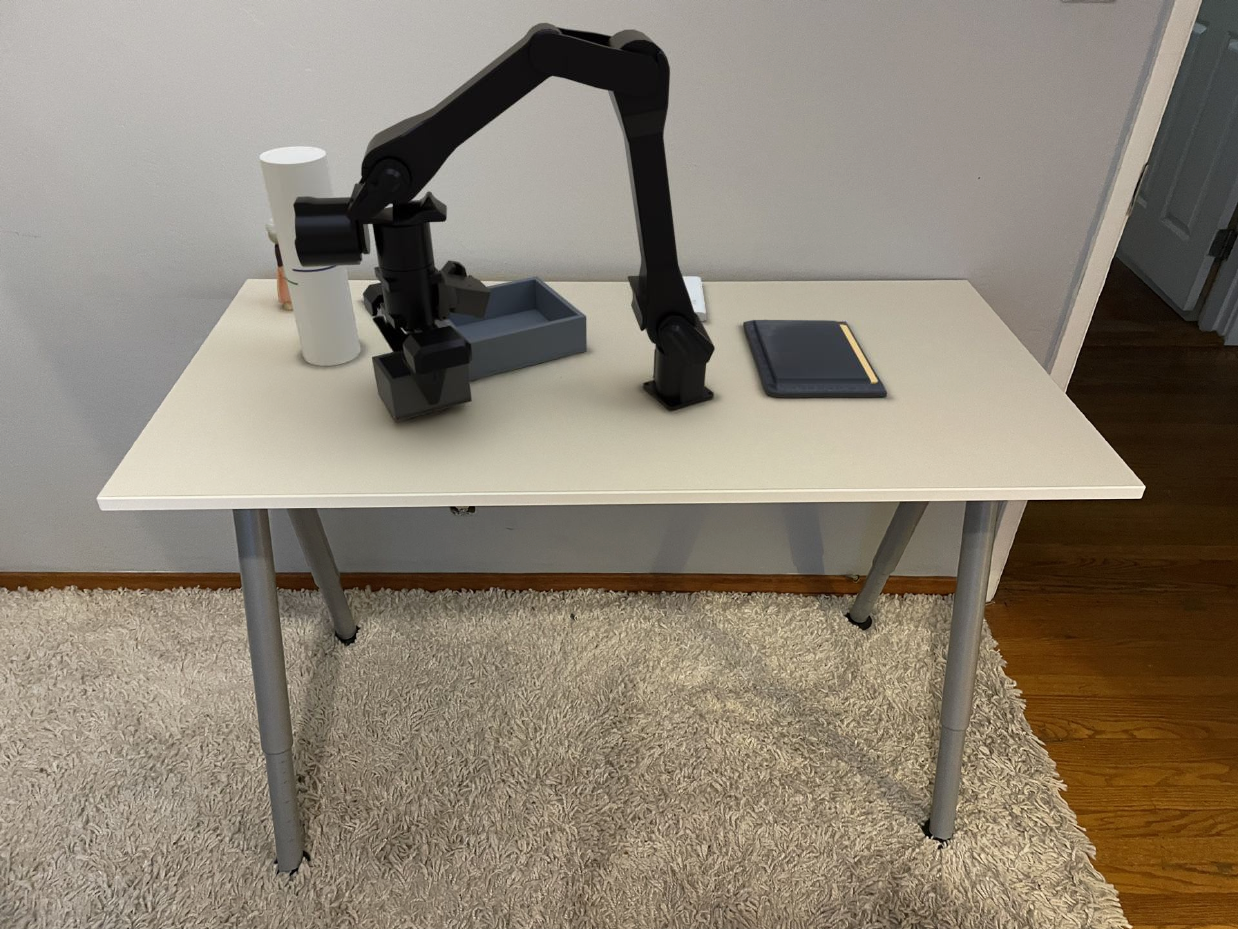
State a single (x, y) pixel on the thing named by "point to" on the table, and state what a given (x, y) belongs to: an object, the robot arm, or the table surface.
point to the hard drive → (696, 295)
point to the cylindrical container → (312, 289)
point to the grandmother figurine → (279, 268)
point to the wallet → (811, 359)
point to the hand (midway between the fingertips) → (423, 390)
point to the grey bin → (520, 328)
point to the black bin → (416, 387)
